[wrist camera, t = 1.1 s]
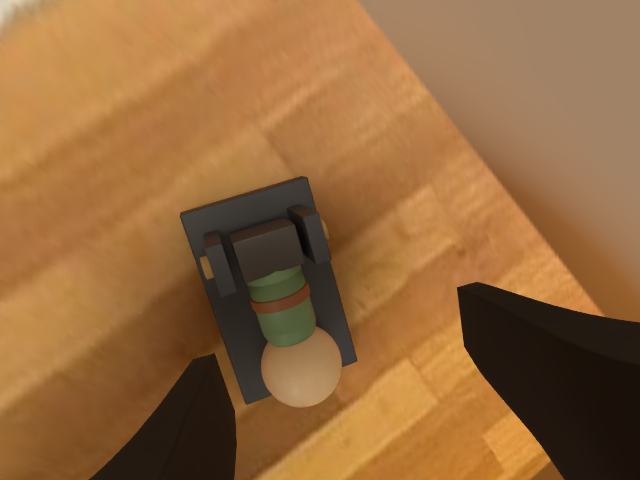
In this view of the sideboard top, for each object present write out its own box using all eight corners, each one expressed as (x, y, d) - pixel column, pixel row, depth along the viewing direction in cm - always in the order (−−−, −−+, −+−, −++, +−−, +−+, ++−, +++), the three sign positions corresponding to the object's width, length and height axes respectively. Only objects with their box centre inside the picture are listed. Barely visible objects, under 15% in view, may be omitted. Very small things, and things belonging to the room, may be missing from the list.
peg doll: (292, 211, 24) (336, 367, 27) (215, 235, 23) (268, 394, 26) (311, 221, 20) (361, 404, 23) (219, 251, 19) (281, 437, 22)
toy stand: (352, 354, 28) (384, 394, 23) (244, 397, 27) (254, 448, 22) (303, 176, 25) (327, 179, 21) (179, 212, 24) (175, 225, 19)
